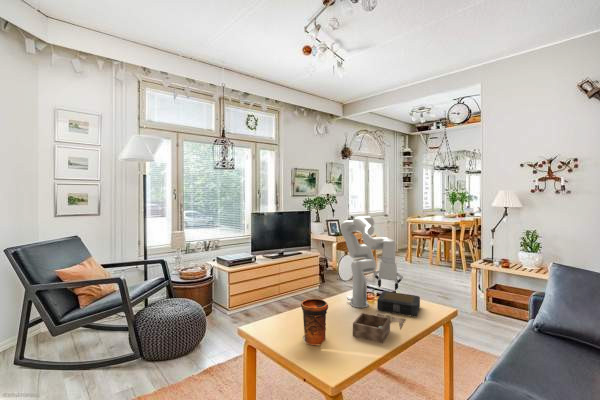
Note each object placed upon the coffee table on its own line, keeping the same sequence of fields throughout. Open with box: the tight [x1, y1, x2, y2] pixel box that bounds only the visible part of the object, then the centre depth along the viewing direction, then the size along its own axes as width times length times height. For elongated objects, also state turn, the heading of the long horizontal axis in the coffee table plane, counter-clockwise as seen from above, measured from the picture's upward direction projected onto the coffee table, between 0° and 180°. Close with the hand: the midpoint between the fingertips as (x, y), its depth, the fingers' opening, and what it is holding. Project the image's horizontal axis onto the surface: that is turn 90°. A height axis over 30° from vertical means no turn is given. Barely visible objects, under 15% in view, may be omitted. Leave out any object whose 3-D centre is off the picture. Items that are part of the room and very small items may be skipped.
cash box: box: [376, 290, 421, 317], centre depth 205 cm, size 25×20×8 cm
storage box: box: [352, 312, 391, 344], centre depth 167 cm, size 16×16×8 cm
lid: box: [375, 312, 406, 330], centre depth 184 cm, size 17×17×5 cm
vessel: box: [300, 298, 329, 347], centre depth 162 cm, size 14×14×20 cm
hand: (387, 288), depth 184 cm, fingers open, 9 cm apart
